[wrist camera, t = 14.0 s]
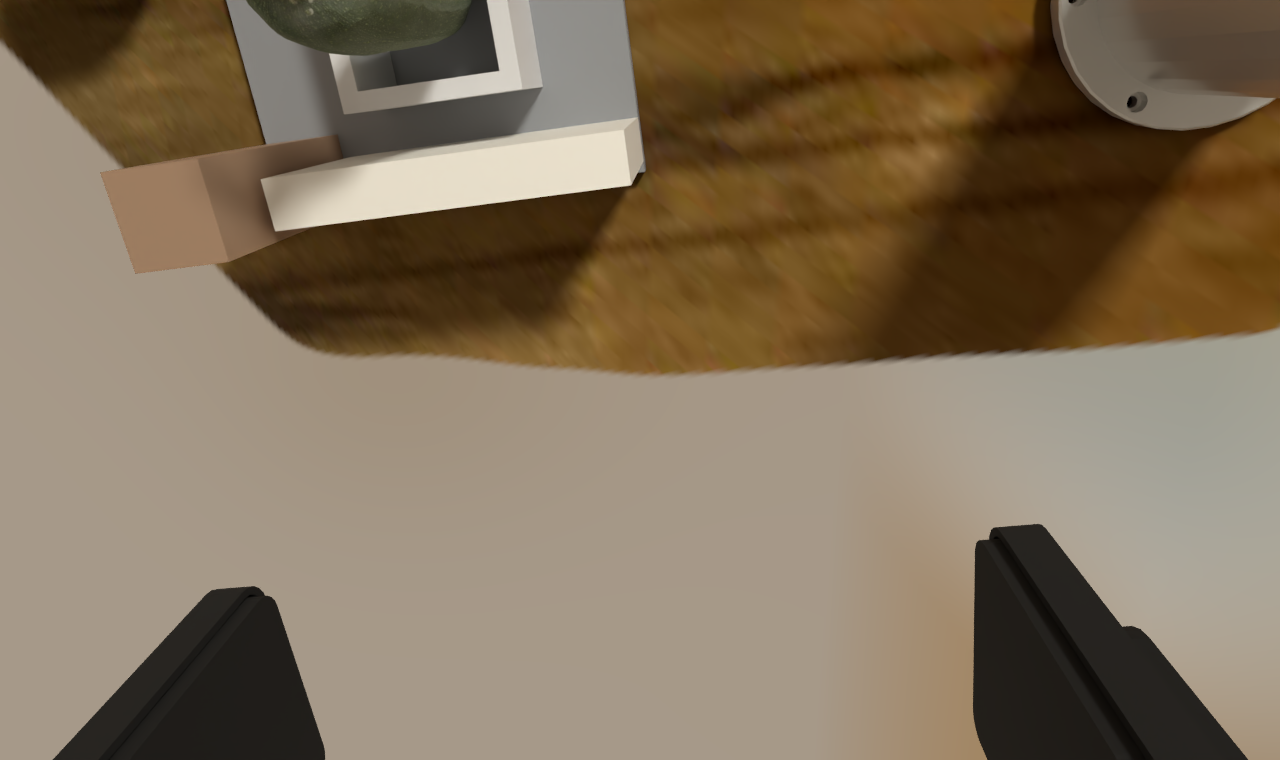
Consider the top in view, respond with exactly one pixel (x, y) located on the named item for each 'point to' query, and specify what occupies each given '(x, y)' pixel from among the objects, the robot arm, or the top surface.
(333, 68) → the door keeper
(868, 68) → the top surface
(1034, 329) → the top surface
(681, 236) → the top surface
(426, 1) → the vegetable
